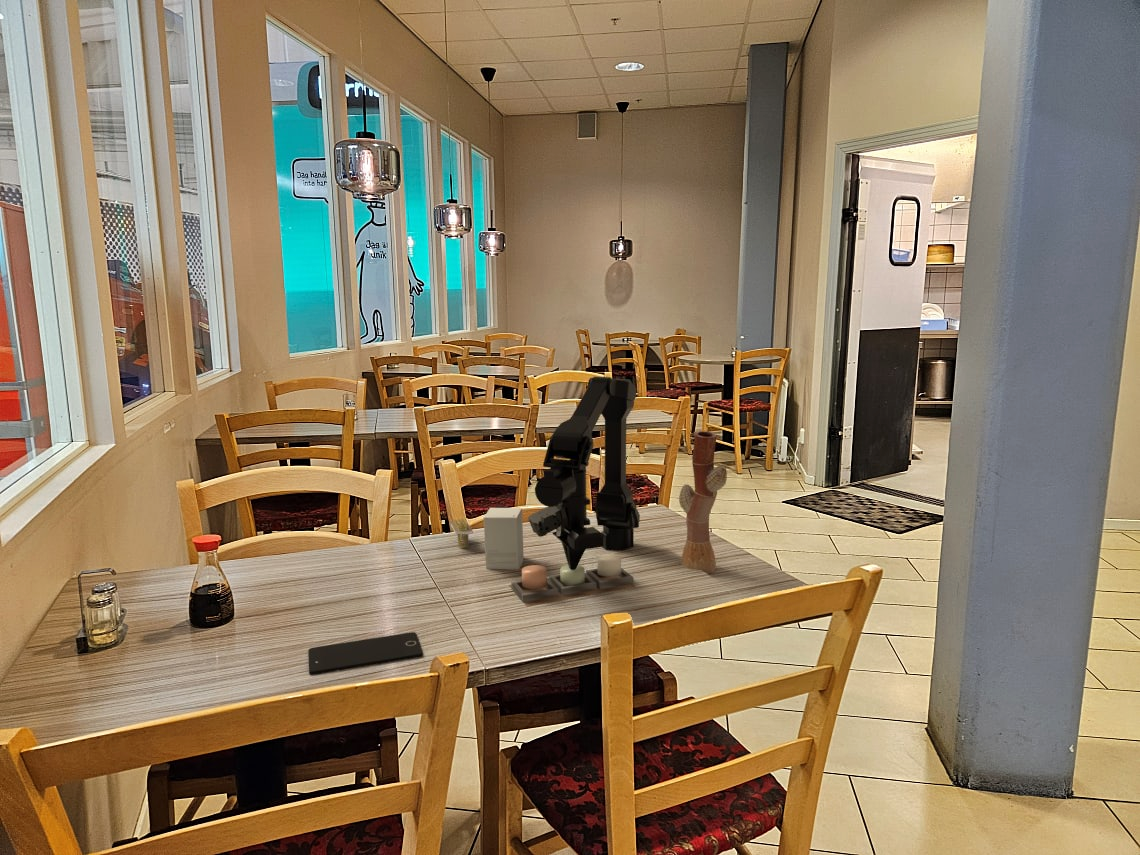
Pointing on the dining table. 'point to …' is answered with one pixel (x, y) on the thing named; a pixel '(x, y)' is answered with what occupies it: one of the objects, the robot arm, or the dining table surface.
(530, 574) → the terracotta button
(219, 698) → the dining table surface
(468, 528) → the toothpick holder
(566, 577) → the sage green rounded piece
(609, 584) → the brown compartment tray
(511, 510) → the supplement box
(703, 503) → the vase
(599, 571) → the cream button
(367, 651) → the cell phone
